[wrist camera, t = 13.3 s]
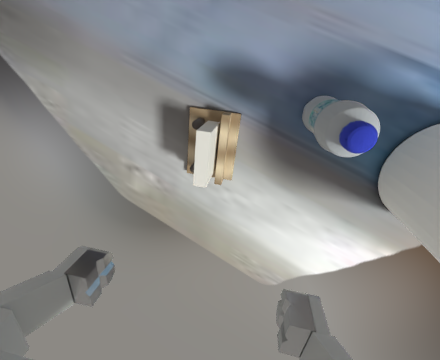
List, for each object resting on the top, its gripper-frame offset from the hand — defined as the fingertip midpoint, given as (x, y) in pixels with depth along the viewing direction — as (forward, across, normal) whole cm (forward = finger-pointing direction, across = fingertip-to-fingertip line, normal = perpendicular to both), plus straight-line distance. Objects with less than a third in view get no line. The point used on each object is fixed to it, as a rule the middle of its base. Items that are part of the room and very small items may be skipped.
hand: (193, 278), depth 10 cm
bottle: (+37, -13, -4) cm, 40 cm away
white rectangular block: (+36, +6, +5) cm, 37 cm away
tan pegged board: (+37, +6, +5) cm, 38 cm away
